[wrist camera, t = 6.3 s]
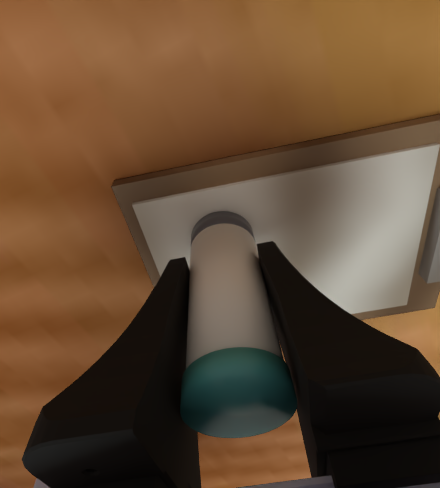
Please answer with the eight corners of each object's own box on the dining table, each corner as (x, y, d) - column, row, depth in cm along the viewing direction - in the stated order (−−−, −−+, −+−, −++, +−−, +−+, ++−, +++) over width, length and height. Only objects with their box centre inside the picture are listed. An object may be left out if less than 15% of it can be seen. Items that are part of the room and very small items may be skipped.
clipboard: (180, 341, 20) (179, 360, 19) (114, 180, 14) (106, 195, 13) (428, 300, 19) (443, 318, 18) (479, 106, 13) (506, 115, 12)
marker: (199, 269, 16) (198, 444, 9) (180, 217, 14) (163, 389, 8) (260, 256, 15) (302, 427, 9) (248, 201, 14) (291, 366, 7)
